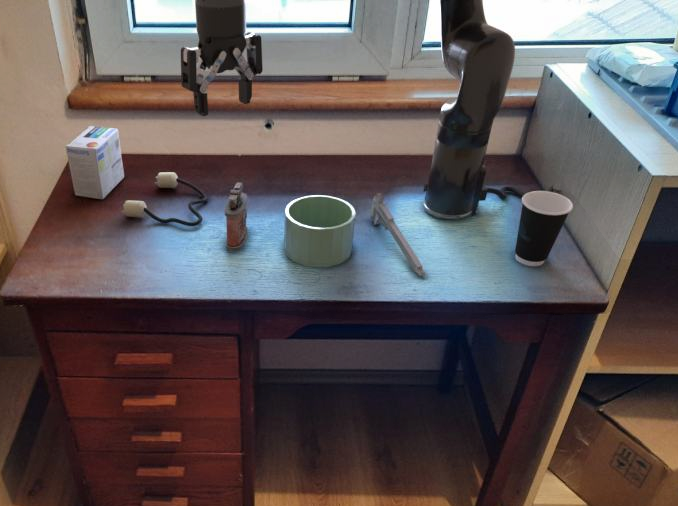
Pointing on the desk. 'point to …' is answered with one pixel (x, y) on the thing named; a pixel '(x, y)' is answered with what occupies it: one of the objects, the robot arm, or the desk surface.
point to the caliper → (394, 231)
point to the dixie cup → (540, 225)
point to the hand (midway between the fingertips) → (224, 108)
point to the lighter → (236, 219)
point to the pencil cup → (319, 230)
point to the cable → (164, 182)
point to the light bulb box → (95, 162)
